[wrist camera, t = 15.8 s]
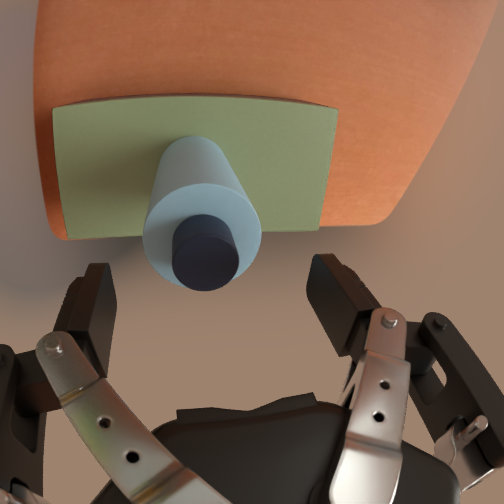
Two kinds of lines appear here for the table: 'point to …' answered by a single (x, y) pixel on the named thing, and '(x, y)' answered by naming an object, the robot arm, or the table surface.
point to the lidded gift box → (179, 126)
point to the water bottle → (199, 218)
